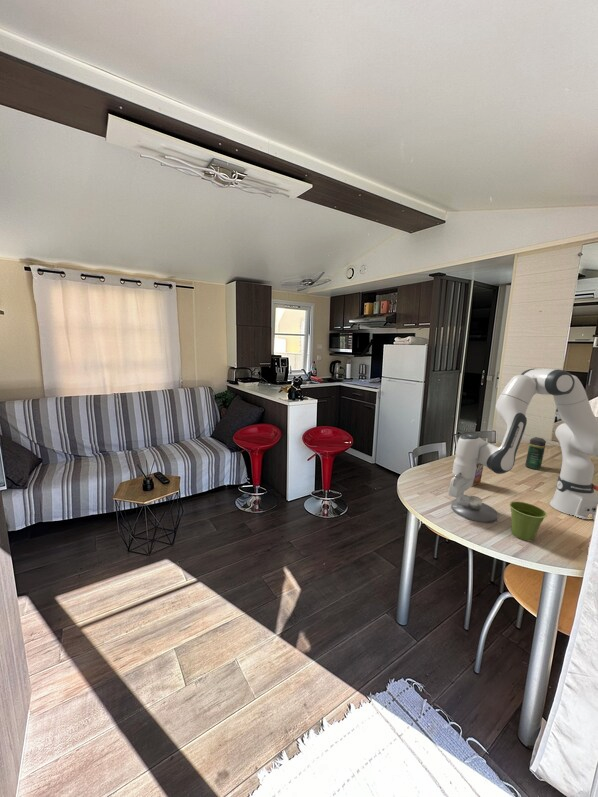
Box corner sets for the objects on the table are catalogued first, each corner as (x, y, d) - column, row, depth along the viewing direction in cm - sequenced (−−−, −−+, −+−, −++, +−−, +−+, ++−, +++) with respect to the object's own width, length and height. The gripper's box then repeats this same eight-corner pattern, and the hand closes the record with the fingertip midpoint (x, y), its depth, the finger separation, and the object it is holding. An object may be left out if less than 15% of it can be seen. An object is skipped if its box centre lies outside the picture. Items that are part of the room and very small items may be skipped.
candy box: (472, 486, 170) (476, 458, 167) (464, 483, 174) (468, 456, 171) (481, 483, 175) (485, 456, 172) (473, 480, 179) (477, 453, 176)
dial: (481, 507, 145) (482, 498, 144) (479, 511, 141) (481, 502, 140) (458, 500, 150) (459, 491, 149) (455, 504, 146) (457, 495, 145)
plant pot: (534, 549, 120) (539, 520, 118) (499, 532, 129) (504, 506, 127) (546, 538, 127) (551, 511, 125) (512, 524, 136) (517, 498, 134)
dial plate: (486, 504, 152) (487, 500, 152) (505, 525, 135) (505, 521, 134) (446, 499, 154) (446, 496, 154) (458, 520, 137) (459, 516, 137)
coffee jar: (539, 471, 197) (545, 441, 194) (523, 467, 202) (529, 438, 199) (541, 467, 204) (547, 438, 201) (526, 463, 210) (531, 435, 206)
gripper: (463, 478, 134) (457, 510, 136) (479, 468, 148) (473, 496, 151) (447, 473, 138) (442, 504, 141) (464, 463, 153) (459, 491, 155)
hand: (458, 500), depth 146 cm, fingers closed
